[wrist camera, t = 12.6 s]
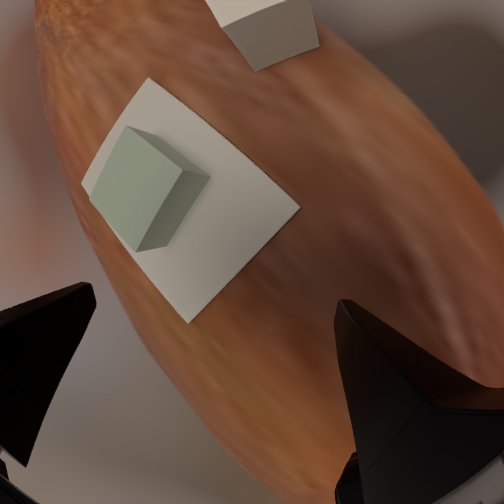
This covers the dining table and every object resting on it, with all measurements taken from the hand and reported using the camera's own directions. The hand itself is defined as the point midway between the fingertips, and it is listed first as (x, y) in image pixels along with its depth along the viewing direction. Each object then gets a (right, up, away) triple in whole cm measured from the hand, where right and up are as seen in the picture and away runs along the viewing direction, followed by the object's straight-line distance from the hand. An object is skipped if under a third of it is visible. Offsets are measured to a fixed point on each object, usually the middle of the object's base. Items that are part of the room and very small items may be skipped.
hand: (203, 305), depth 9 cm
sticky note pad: (-6, +7, +14) cm, 17 cm away
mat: (-6, +7, +14) cm, 17 cm away
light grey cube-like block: (+3, +20, +9) cm, 23 cm away
